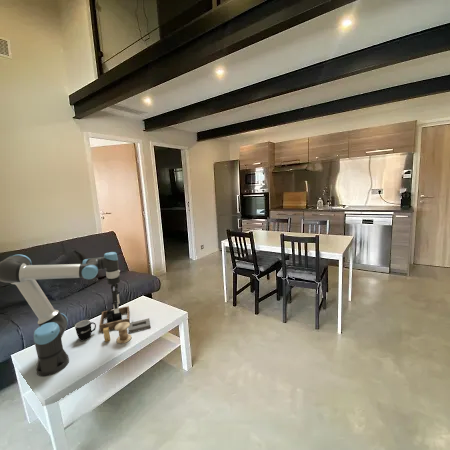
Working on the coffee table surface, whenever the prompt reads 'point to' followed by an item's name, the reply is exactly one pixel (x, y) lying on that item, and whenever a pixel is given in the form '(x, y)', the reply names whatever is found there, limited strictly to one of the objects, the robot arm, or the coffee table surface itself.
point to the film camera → (113, 316)
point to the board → (139, 325)
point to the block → (106, 334)
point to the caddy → (113, 324)
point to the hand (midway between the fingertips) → (117, 308)
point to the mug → (84, 329)
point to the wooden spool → (123, 332)
